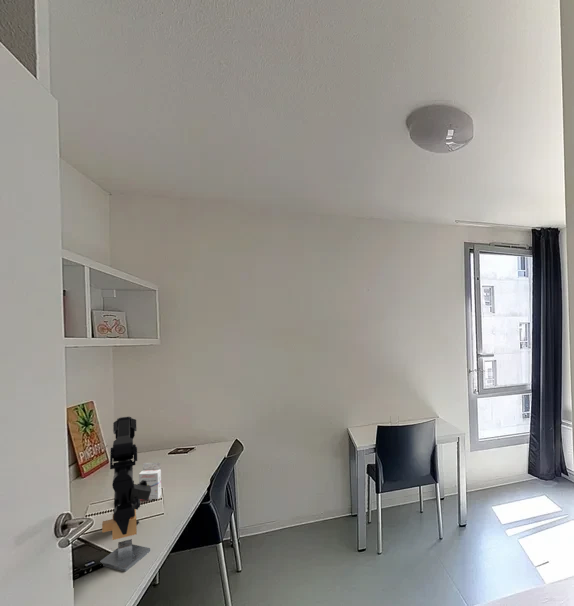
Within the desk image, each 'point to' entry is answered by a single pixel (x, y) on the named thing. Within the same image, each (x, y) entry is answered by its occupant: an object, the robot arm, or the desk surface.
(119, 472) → the robot arm
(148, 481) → the ink cartridge box
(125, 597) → the desk surface
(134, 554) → the grey plate with tab
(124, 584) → the desk surface
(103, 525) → the tan open-top box
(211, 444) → the desk surface
